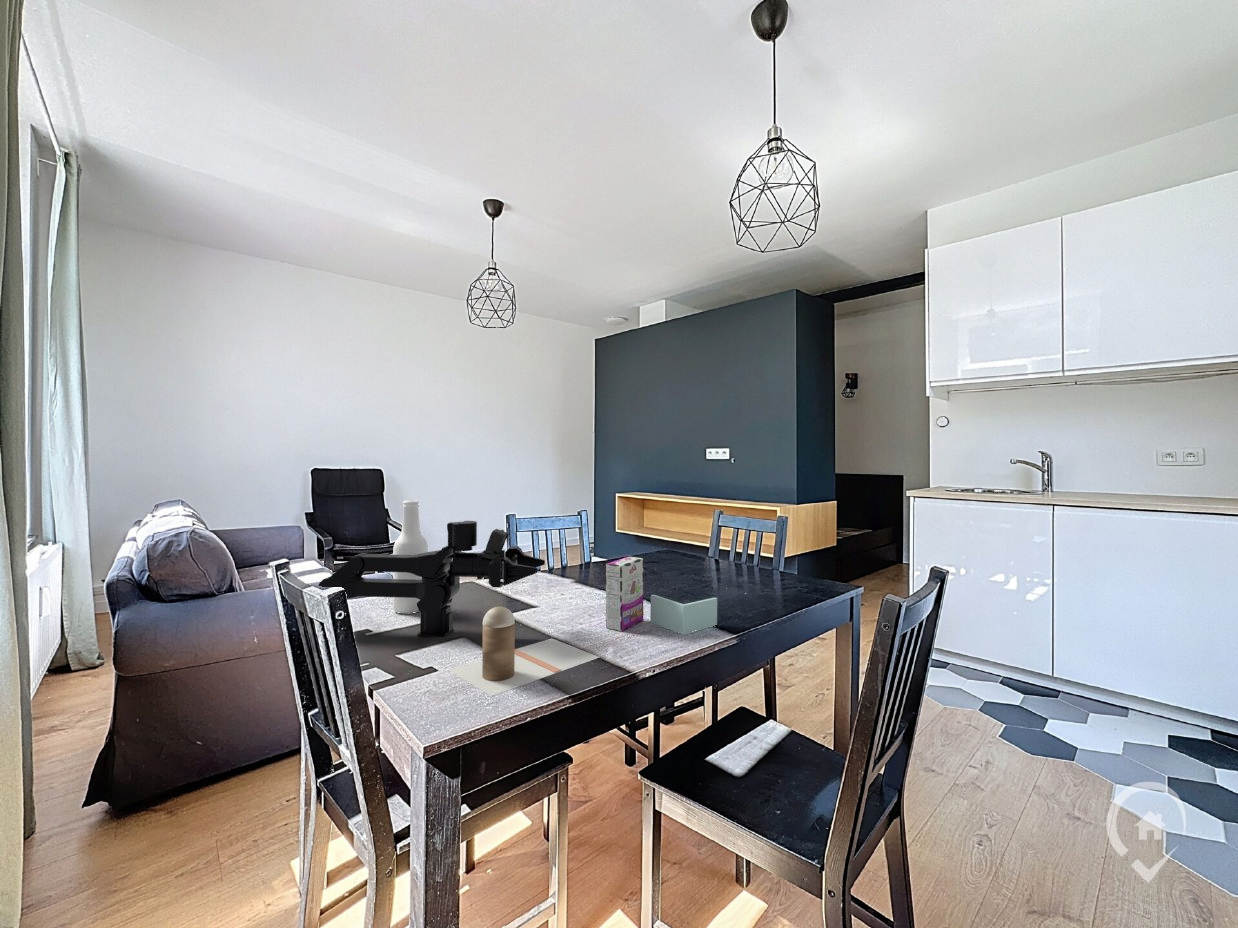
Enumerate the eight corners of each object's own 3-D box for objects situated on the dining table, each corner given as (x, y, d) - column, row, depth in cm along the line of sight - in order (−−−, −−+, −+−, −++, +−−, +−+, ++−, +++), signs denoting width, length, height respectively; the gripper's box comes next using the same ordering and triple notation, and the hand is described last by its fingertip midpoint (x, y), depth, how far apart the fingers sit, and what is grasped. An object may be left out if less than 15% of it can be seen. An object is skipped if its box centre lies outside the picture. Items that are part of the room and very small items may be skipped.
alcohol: (393, 616, 142) (393, 502, 142) (393, 607, 150) (393, 499, 150) (428, 612, 146) (429, 501, 145) (426, 604, 154) (427, 499, 153)
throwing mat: (491, 700, 94) (491, 694, 94) (446, 673, 106) (447, 668, 106) (599, 660, 113) (599, 656, 113) (551, 641, 124) (551, 637, 124)
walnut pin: (478, 680, 101) (478, 611, 100) (487, 667, 107) (487, 602, 106) (510, 681, 100) (510, 612, 100) (517, 668, 106) (518, 603, 106)
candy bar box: (627, 617, 144) (628, 555, 143) (643, 620, 141) (644, 557, 141) (604, 628, 134) (604, 562, 134) (621, 632, 131) (622, 565, 131)
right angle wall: (716, 627, 138) (717, 598, 137) (682, 636, 130) (683, 605, 130) (683, 615, 147) (684, 588, 147) (650, 623, 140) (650, 595, 140)
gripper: (463, 537, 119) (533, 538, 119) (487, 525, 138) (548, 527, 137) (463, 587, 119) (533, 588, 119) (487, 569, 138) (548, 570, 137)
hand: (541, 566), depth 128 cm, fingers open, 9 cm apart
